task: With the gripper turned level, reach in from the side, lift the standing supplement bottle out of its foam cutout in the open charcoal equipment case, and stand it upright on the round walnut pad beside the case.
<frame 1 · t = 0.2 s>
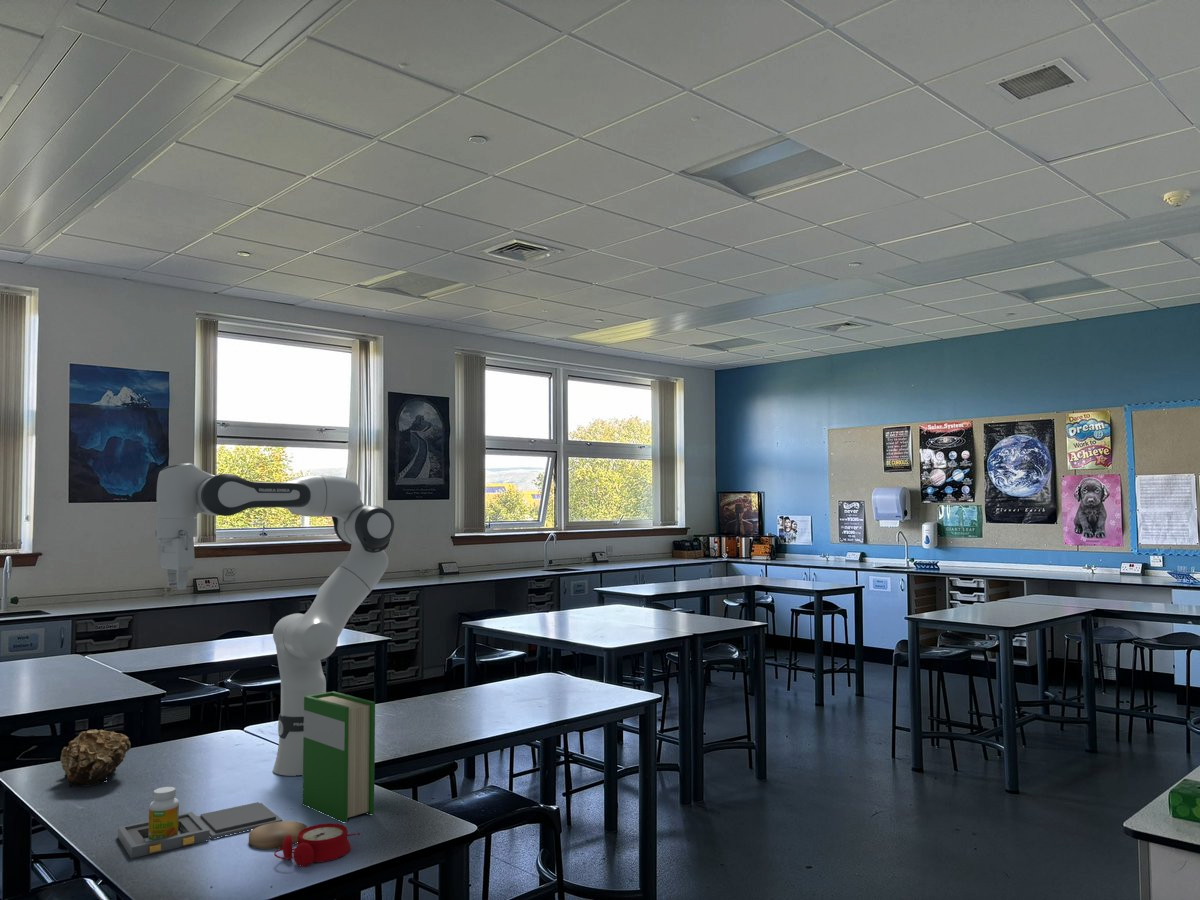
hand: (176, 588, 206), 48 cm above the table, tool pointing down, fingers open, 8 cm apart
equipment case: (163, 838, 174), on the table
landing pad: (278, 838, 174), on the table
supplement bottle: (163, 839, 174), resting in equipment case
fossil: (95, 781, 214), on the table
hardback book: (337, 810, 191), on the table
alarm clock: (314, 857, 165), on the table
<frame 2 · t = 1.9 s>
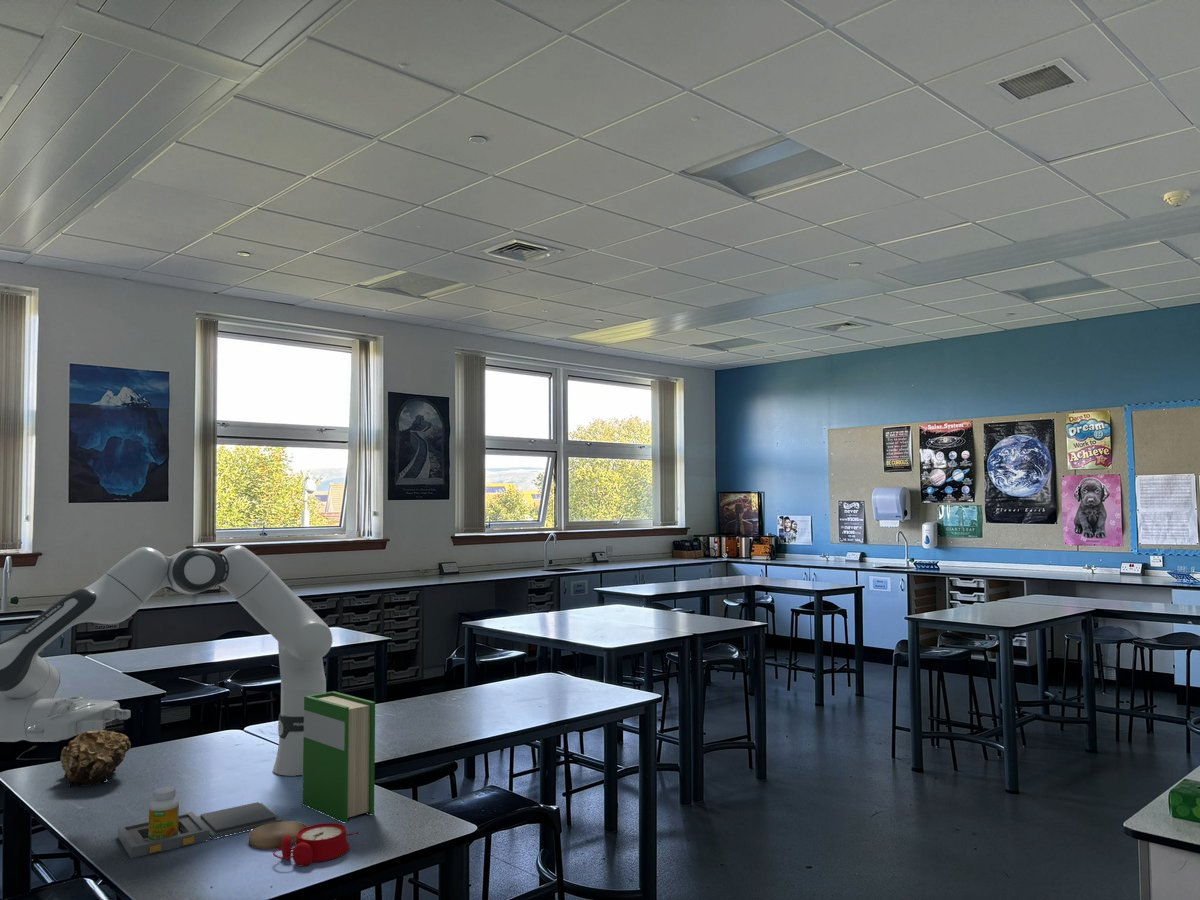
hand: (116, 719, 184), 22 cm above the table, tool horizontal, fingers open, 8 cm apart
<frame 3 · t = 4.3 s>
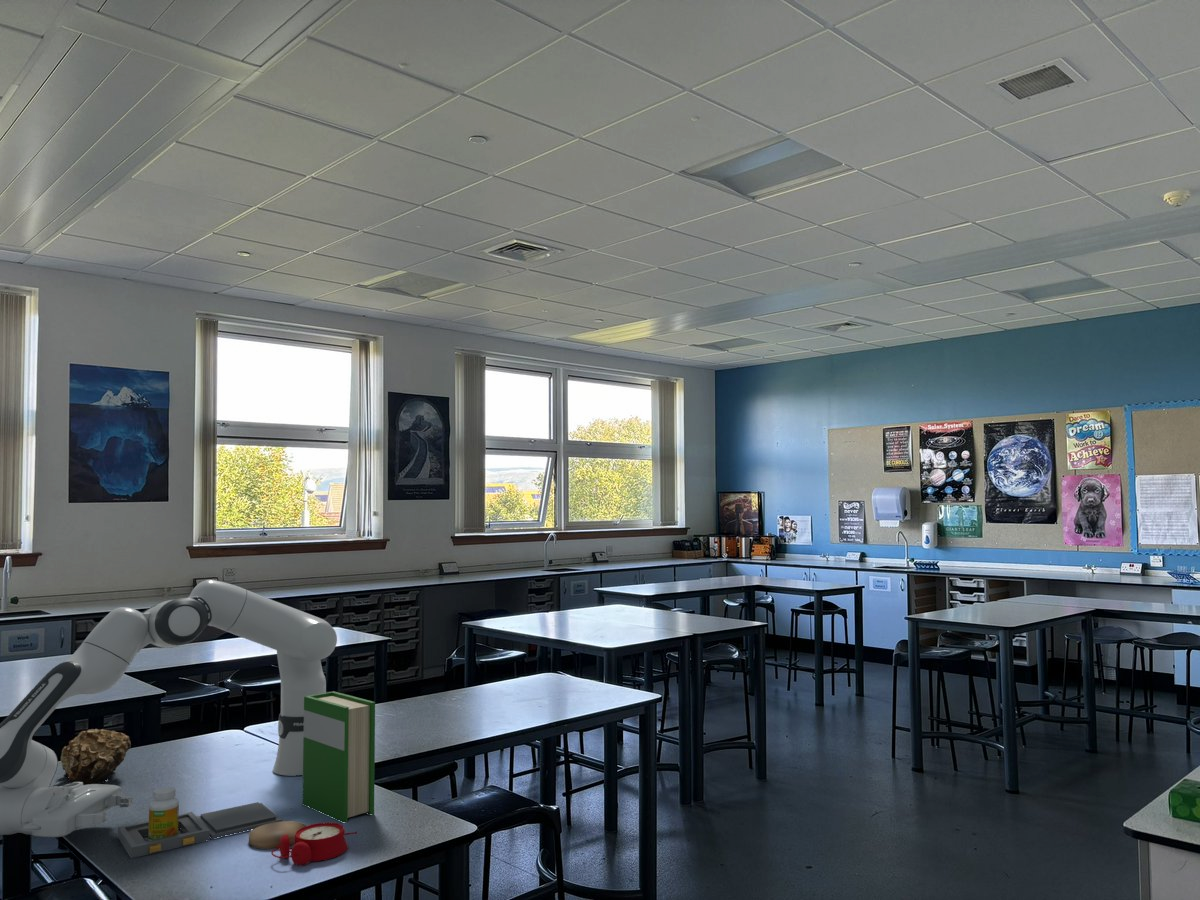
hand: (117, 809, 175), 6 cm above the table, tool horizontal, fingers open, 8 cm apart
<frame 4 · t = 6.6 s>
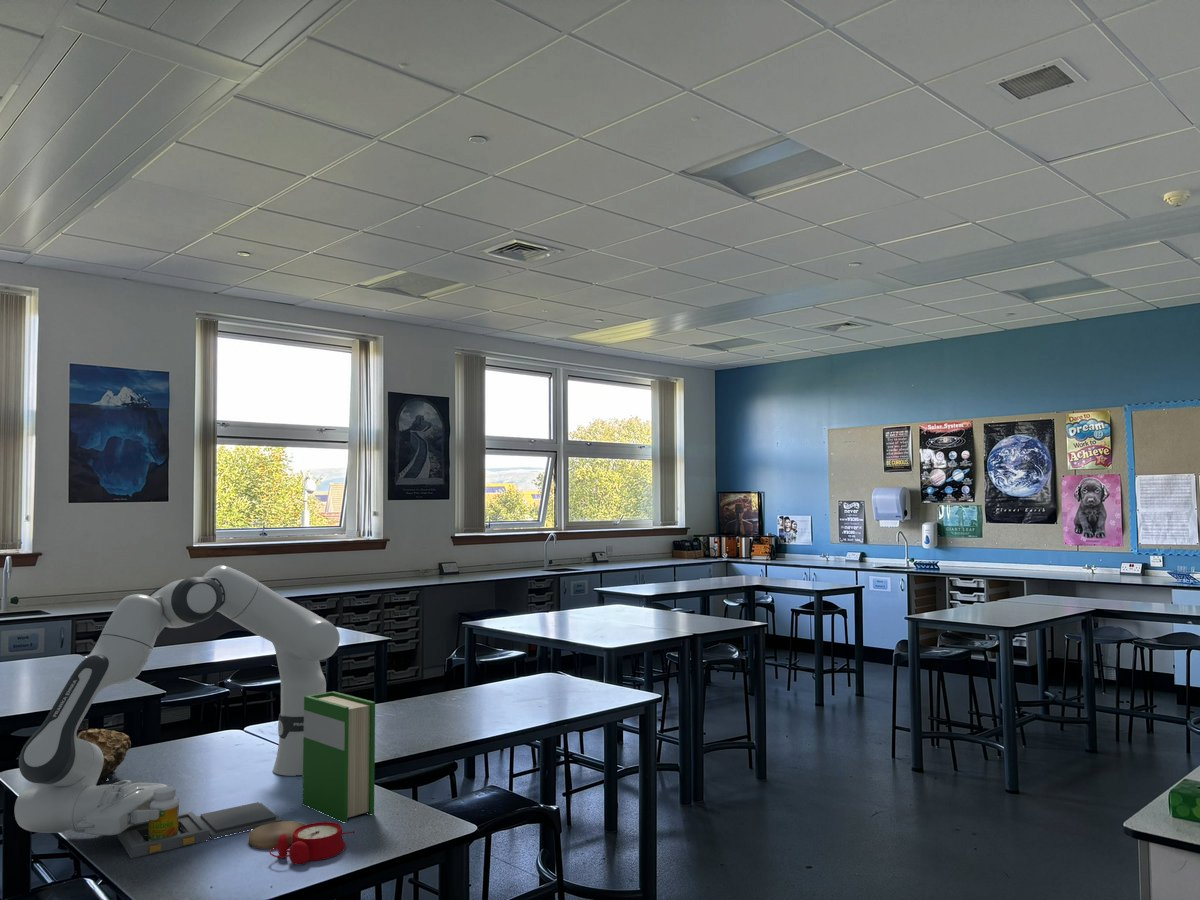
hand: (168, 808, 174), 6 cm above the table, tool horizontal, fingers closed on supplement bottle, 5 cm apart
supplement bottle: (163, 839, 174), resting in equipment case, touching gripper
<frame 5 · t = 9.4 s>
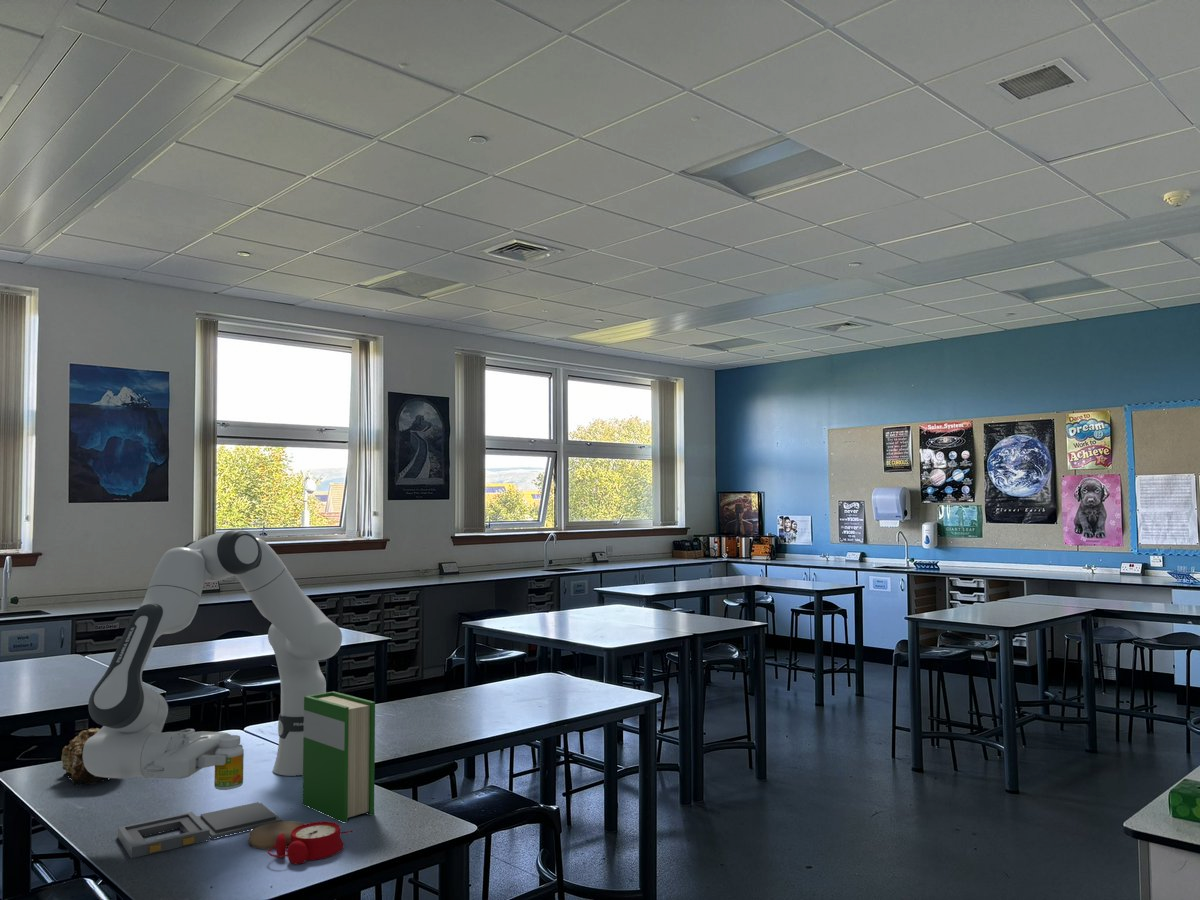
hand: (234, 754, 175), 17 cm above the table, tool horizontal, fingers closed on supplement bottle, 5 cm apart
supplement bottle: (228, 787, 175), point 10 cm above the table, touching gripper
when the fingers open (9 cm above the table, at t = 12.0 s): supplement bottle stays where it is, resting on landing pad.
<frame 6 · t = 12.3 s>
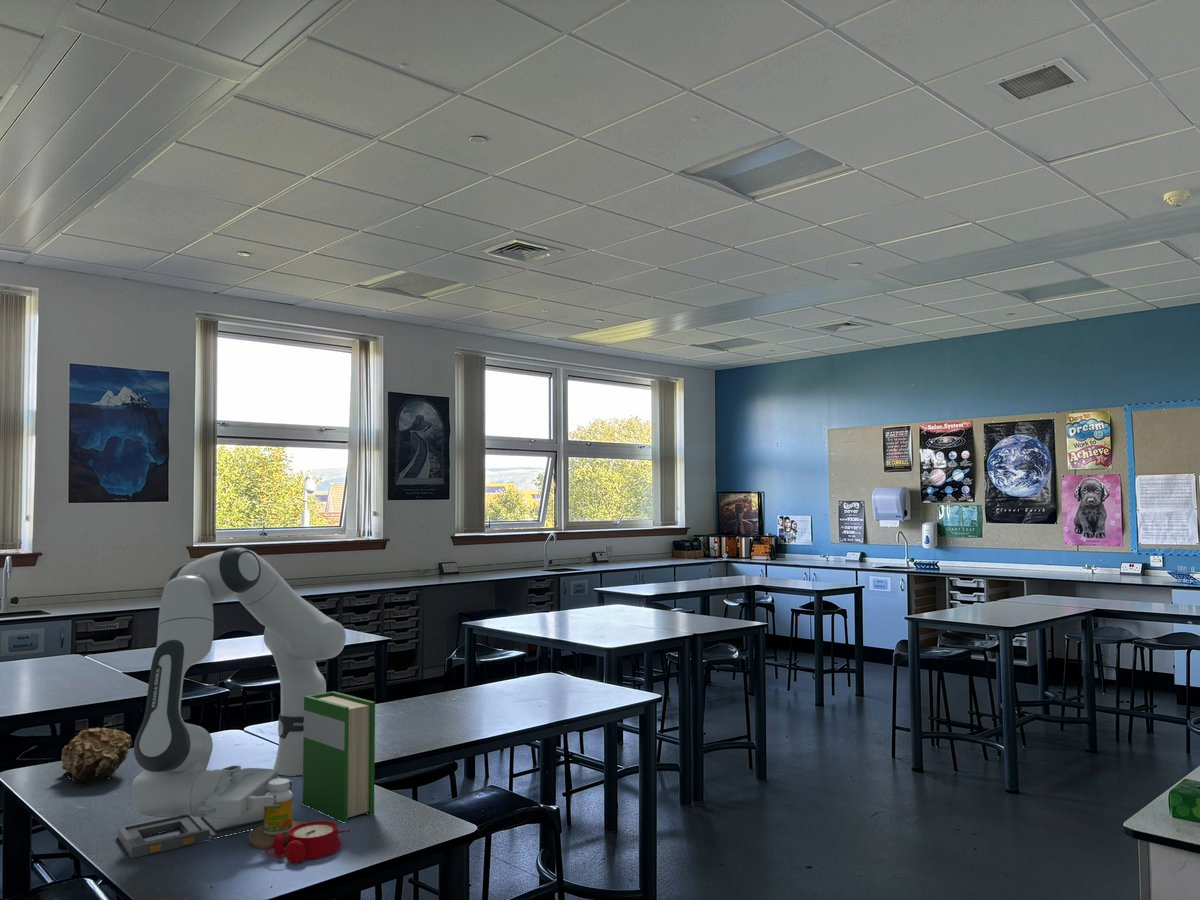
hand: (283, 792, 174), 9 cm above the table, tool horizontal, fingers open, 8 cm apart
supplement bottle: (278, 831, 174), point 1 cm above the table, touching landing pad
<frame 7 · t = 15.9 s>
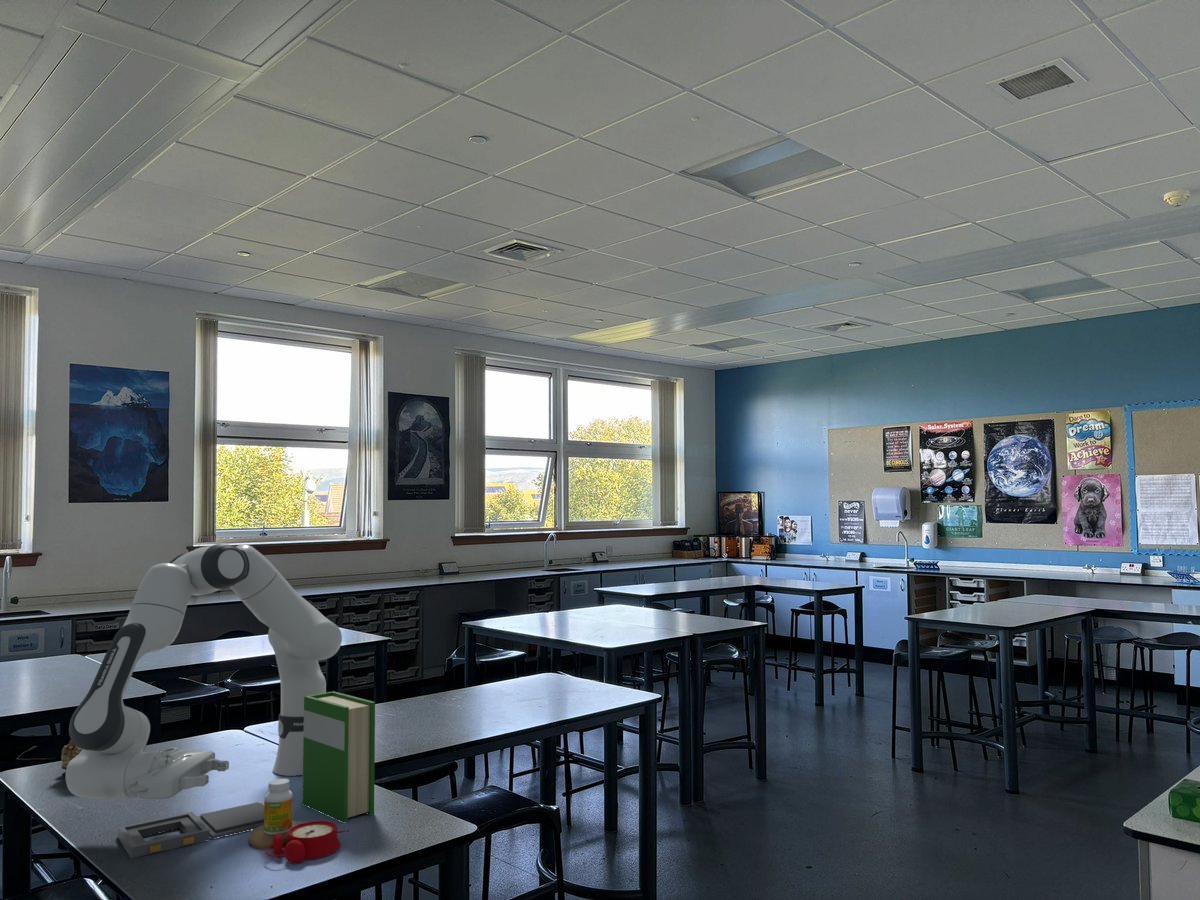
hand: (217, 773, 176), 12 cm above the table, tool horizontal, fingers open, 8 cm apart
alarm clock: (304, 854, 166), on the table, touching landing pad
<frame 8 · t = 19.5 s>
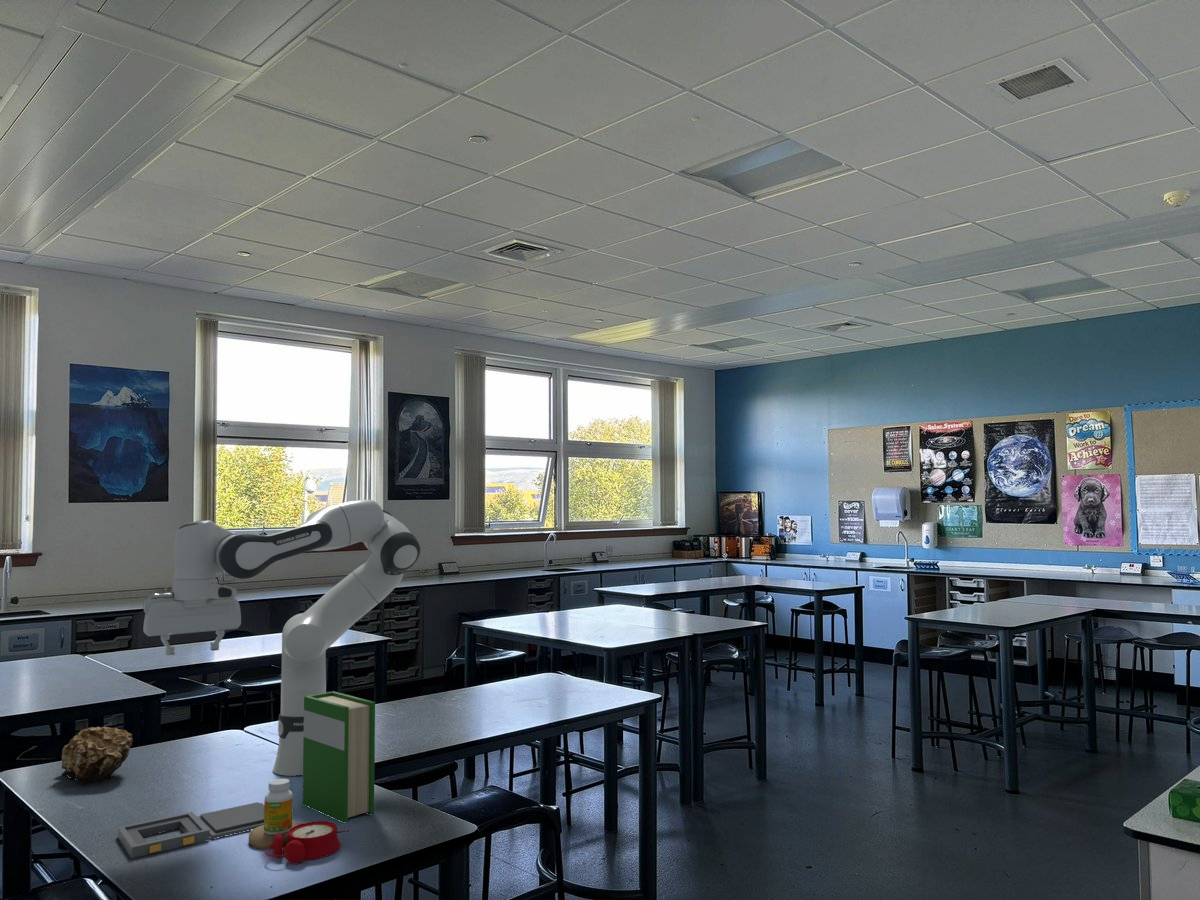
hand: (192, 652, 196), 34 cm above the table, tool pointing down, fingers open, 8 cm apart
alarm clock: (304, 854, 166), on the table
at the end: supplement bottle inside the target area on the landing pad (0.0 cm from its centre), point 1.3 cm above the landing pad's base; supplement bottle tilted 0°; the gripper is holding nothing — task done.
